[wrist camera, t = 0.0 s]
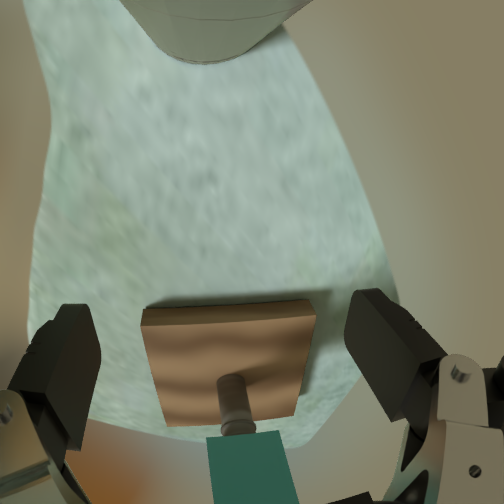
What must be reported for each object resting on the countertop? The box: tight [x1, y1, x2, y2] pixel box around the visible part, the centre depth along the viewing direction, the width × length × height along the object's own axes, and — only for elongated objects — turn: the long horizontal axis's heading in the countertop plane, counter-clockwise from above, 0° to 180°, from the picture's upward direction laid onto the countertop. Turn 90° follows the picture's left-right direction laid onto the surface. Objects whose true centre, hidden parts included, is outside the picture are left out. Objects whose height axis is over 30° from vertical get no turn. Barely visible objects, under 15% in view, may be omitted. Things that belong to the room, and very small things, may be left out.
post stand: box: [140, 300, 317, 436], centre depth 29 cm, size 17×16×12 cm
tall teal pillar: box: [206, 430, 299, 504], centre depth 20 cm, size 6×6×11 cm
